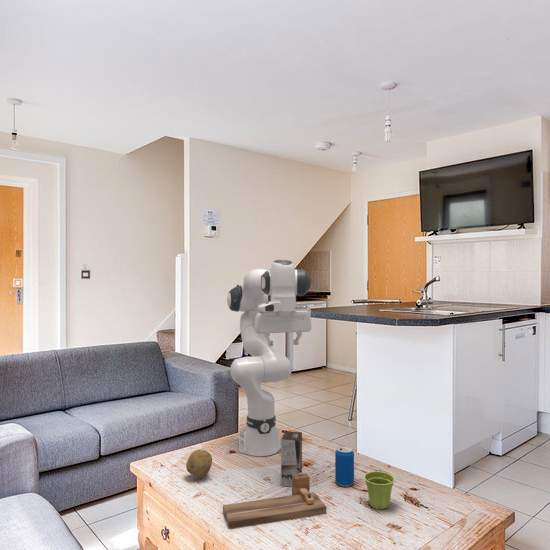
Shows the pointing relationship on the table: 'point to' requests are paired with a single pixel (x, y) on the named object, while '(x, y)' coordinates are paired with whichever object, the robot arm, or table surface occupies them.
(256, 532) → the table surface
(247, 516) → the plank
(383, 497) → the plant pot
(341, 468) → the beverage can
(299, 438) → the coffee box
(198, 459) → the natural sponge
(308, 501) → the wooden chest hasp
